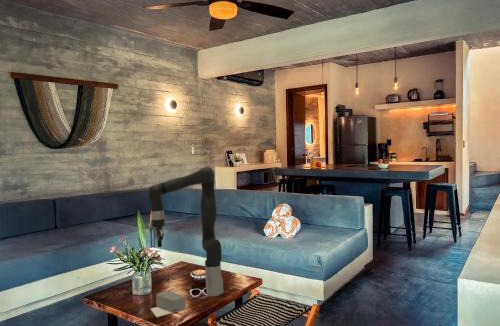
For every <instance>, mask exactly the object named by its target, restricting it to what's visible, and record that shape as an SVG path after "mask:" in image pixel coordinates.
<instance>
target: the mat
mask: <svg viewBox="0 0 500 326" xmlns="http://www.w3.org/2000/svg"><path fill="white" fill-rule="evenodd" d="M150 311H151V313H152V314H154V316H155V318H160V317H163V316H167V315H170V314H171V315H172V314H175V313H178V312H182V311H183V309H181V310H178V311H175V312H172V311H170V310H167V309H164V308H162V307H159V306H156V307H155V306H154V307H151V308H150Z"/></svg>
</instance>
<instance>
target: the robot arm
mask: <svg viewBox="0 0 500 326" xmlns="http://www.w3.org/2000/svg"><path fill="white" fill-rule="evenodd" d="M200 184H201V195H200V196H201V198H200V217H201V228H202V237H201V245H202V249H203V250H204V251H205V252H206V259H205V260H204V269H205V270H204V271H205V290H206V295H207V296H209V297H217V296H221V295H222V294H224V278H223V276H222V267H221V266H222V265H221V263H222V244H221V242H220V241H219V240H218V239H216V236H215V235H216V234H215V225H216V219H217V203H216V194H215V171H214V170H213V169H212V168H211V167H209V166H204V167H202V168H200V169H198V170H197V171H195V172H192V173H191V174H188V175H185V176H180V177H175V178H172V179H170V180H167V181H164V182H161V183H157V184H154V185H151V186H150V187H149V188H148V190H147V191H148V199H149V202H150V214H151V215H150V219H151V227H152V228H154V230H153V233H154V236H155V239H156V242H157V243H156V245H157V247H158V248H161V247H162V246H163V243H162V241H163V240H164V235H165V232H164V230H163V228H162V227H165V211H164V203H163V201H162V200H161V196H162V195H165V194H168V193H169V194H170V193H173V192H177V191H180V190H183V189H185V188H188V187H190V186H194V185H200Z"/></svg>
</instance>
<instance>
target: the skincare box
mask: <svg viewBox="0 0 500 326" xmlns="http://www.w3.org/2000/svg"><path fill="white" fill-rule="evenodd" d="M155 302H156V303H155V306H156V307H162V308H164V309H167V310H170V311H172V312H175V311H178V310H181V309H182V310H183V309H185V308H186V296H184V295H183V294H179V293H176V292H172V291H169V290H164V291H161V292H159V293H156V294H155ZM175 313H176V312H175Z"/></svg>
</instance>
